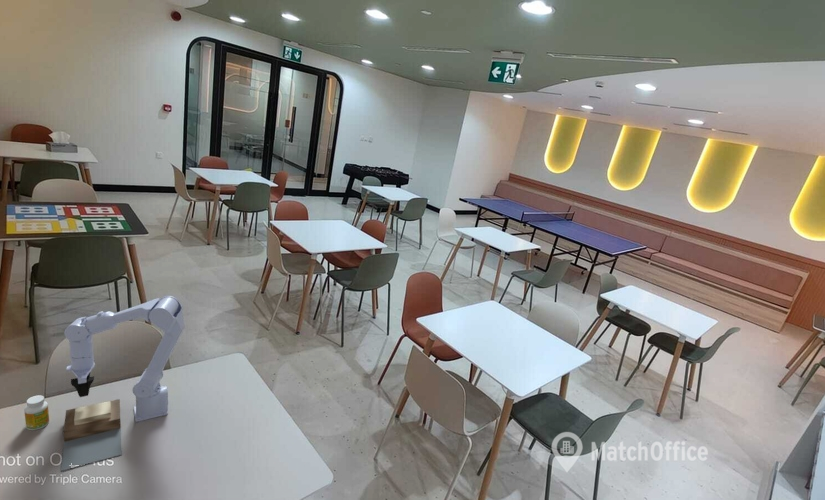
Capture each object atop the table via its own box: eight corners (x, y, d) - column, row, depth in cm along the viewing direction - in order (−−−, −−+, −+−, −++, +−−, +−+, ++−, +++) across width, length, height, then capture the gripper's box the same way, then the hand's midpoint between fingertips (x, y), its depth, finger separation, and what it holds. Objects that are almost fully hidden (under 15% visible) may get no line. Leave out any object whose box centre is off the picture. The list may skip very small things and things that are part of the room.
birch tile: (110, 405, 133) (110, 400, 132) (110, 417, 128) (110, 412, 128) (75, 413, 127) (75, 408, 127) (74, 425, 123) (74, 420, 122)
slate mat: (120, 428, 130) (120, 428, 129) (121, 455, 121) (121, 454, 121) (64, 442, 121) (64, 441, 121) (60, 471, 112) (60, 470, 112)
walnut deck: (119, 408, 137) (119, 399, 136) (120, 428, 130) (120, 418, 129) (66, 420, 129) (66, 410, 127) (64, 441, 121) (63, 431, 120)
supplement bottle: (35, 432, 122) (32, 407, 119) (21, 427, 123) (18, 402, 120) (54, 421, 127) (51, 396, 124) (40, 416, 128) (37, 391, 125)
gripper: (66, 344, 129) (69, 378, 133) (63, 369, 119) (67, 405, 123) (94, 340, 134) (96, 373, 138) (93, 364, 123) (95, 399, 127)
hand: (84, 388), depth 130 cm, fingers open, 7 cm apart
